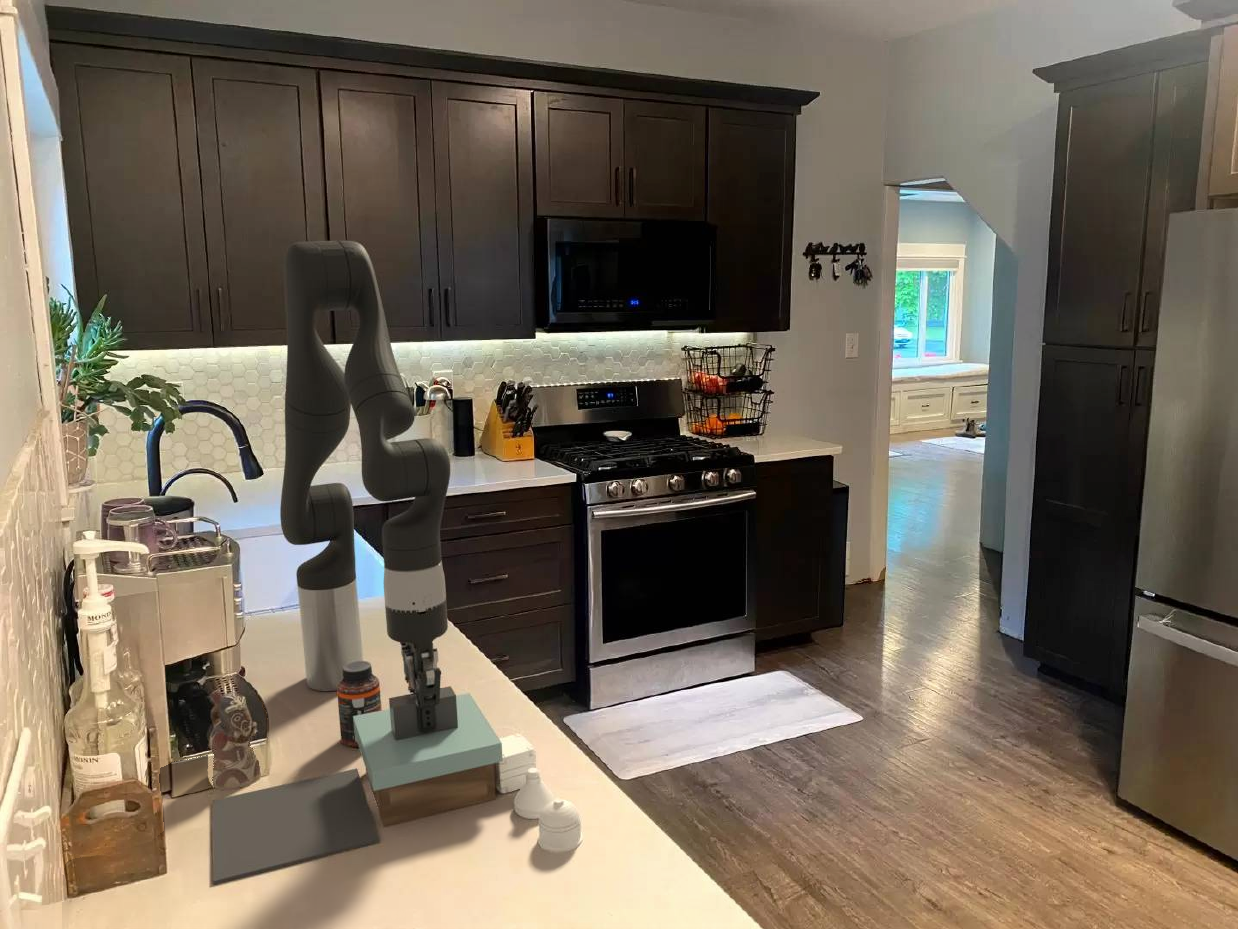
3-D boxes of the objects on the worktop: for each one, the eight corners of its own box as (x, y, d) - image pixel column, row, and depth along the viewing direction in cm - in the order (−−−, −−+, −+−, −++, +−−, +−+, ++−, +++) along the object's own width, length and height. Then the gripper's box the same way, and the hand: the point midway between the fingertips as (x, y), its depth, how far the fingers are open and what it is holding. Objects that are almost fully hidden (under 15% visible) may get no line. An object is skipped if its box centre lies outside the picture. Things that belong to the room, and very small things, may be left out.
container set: (486, 780, 123) (484, 742, 122) (523, 769, 125) (521, 732, 124) (549, 859, 106) (547, 816, 104) (590, 845, 108) (588, 802, 107)
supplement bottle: (372, 750, 131) (365, 675, 129) (333, 747, 132) (326, 673, 130) (390, 730, 137) (385, 658, 134) (353, 728, 138) (347, 656, 136)
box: (366, 772, 125) (361, 724, 124) (467, 750, 130) (464, 703, 129) (383, 827, 112) (379, 774, 111) (495, 799, 118) (492, 748, 116)
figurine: (230, 795, 120) (220, 709, 118) (196, 781, 124) (186, 697, 121) (276, 770, 126) (267, 688, 124) (242, 757, 130) (233, 677, 127)
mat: (212, 803, 118) (212, 800, 118) (357, 771, 125) (357, 768, 125) (213, 884, 102) (213, 881, 102) (379, 842, 109) (379, 839, 109)
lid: (354, 733, 124) (350, 684, 123) (470, 709, 130) (467, 662, 129) (373, 791, 110) (368, 736, 109) (502, 761, 116) (499, 709, 115)
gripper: (376, 586, 121) (385, 709, 124) (395, 620, 108) (405, 756, 112) (433, 577, 124) (441, 698, 127) (458, 610, 111) (466, 743, 115)
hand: (424, 724), depth 120 cm, fingers closed on lid, 3 cm apart
